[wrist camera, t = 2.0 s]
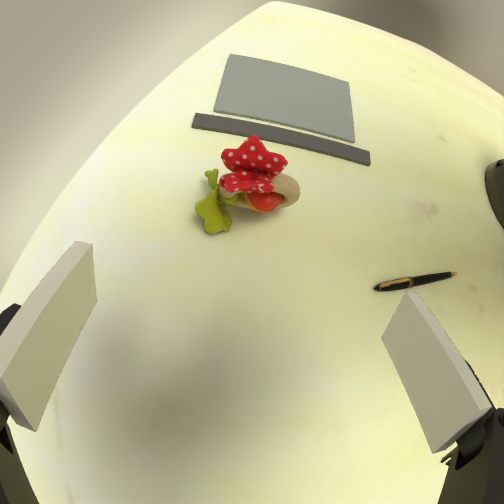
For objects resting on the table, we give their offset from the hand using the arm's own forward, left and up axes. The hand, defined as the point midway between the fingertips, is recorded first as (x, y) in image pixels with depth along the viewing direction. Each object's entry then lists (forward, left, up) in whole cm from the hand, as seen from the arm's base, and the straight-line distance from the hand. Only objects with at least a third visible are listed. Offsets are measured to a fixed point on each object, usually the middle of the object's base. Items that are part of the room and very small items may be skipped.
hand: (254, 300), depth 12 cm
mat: (-4, -28, -17) cm, 33 cm away
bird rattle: (0, -12, -17) cm, 21 cm away
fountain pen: (-22, -7, -17) cm, 29 cm away
